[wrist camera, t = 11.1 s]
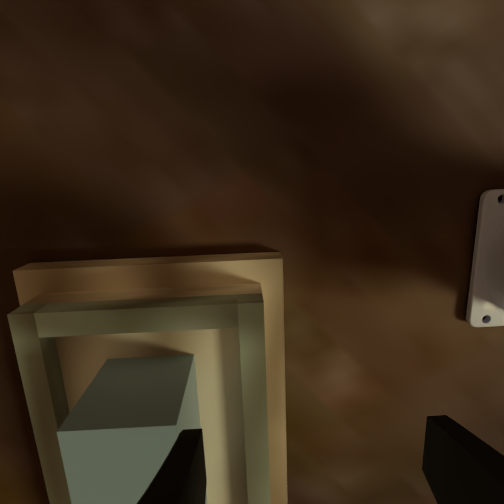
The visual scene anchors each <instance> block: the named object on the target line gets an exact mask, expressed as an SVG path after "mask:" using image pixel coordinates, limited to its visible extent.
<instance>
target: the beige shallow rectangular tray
mask: <svg viewBox="0 0 504 504" xmlns="http://www.w3.org/2000/svg"><path fill="white" fill-rule="evenodd" d="M13 276H14V280H15V285H16V290H17V294H18V299H19V303H20V307H18V308H17V309H15V310H14V311H12V312H11V313H9V314H7V317H8V321H9V326H10V330H11V335H12V339H13V343H14V348H15V352H16V357H17V361H18V365H19V370H20V374H21V379H22V383H23V388H24V392H25V396H26V401H27V405H28V410H29V414H30V418H31V423H32V427H33V432H34V436H35V441H36V445H37V449H38V454H39V458H40V463H41V467H42V472H43V476H44V480H45V485H46V489H47V494H48V498H49V502H50V504H72V503H71V498H70V494H69V489H68V484H67V479H66V474H65V470H64V465H63V460H62V455H61V450H60V446H59V441H58V436H57V431H58V429H59V428H60V426H61V425H62V423H63V422H64V421H65V419H66V418H67V416H68V415H69V413H70V412H71V410H72V409H73V408H74V406H75V405H76V403H77V402H78V400H79V399H80V398H81V396H82V395H83V393H84V392H85V390H86V389H87V387H88V386H89V385H90V383H91V382H92V380H93V379H94V377H95V376H96V375H97V373H98V372H99V370H100V369H101V367H102V366H103V365H104V363H105V362H106V360H107V359H114V358H134V357H153V356H173V355H192V354H194V358H195V369H196V380H197V391H198V402H199V414H200V425H201V429H202V432H203V443H204V455H205V466H206V478H207V486H206V492H207V503H208V504H287V458H286V405H285V352H284V300H283V258H282V256H281V253H280V252H261V253H239V254H216V255H194V256H172V257H150V258H128V259H106V260H84V261H62V262H40V263H28V264H26V265H24V266H22V267H20V268H18V269H15V270H13Z"/></svg>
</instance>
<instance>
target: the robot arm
mask: <svg viewBox="0 0 504 504" xmlns="http://www.w3.org/2000/svg"><path fill="white" fill-rule="evenodd" d="M500 195H502V200H501V201H500V202H498V197H499V196H500ZM484 316H486V318H485V319H484V320H482V318H483V317H484ZM466 321H467V323H469V324H470V325H471V326H473V327H490V326H504V189H494V190H487V191H485V192H484V193H483V194H482V195H481V197H480V203H479V211H478V220H477V228H476V237H475V245H474V254H473V262H472V271H471V279H470V288H469V296H468V305H467V313H466ZM422 470H423V472H424V474H425V477H426V479H427V481H428V484H429V486H430V488H431V490H432V492H433V495H434V497H435V499H436V501H437V503H438V504H504V456H503V455H502V454H501V453H499V452H498V451H496V450H495V449H493V448H492V447H491V446H489V445H488V444H486V443H485V442H484V441H482V440H481V439H479V438H478V437H477V436H475V435H474V434H472V433H471V432H470V431H468V430H467V429H465V428H464V427H463V426H461V425H460V424H458V423H457V422H455V421H454V420H452V419H451V418H449V417H448V416H446V415H442V416H427V423H426V433H425V444H424V454H423V465H422ZM206 486H207V478H206V466H205V455H204V443H203V432H202V429H183V430H182V431H181V432H180V433H179V435H178V437H177V439H176V441H175V443H174V445H173V447H172V448H171V450H170V452H169V454H168V456H167V457H166V459H165V461H164V462H163V464H162V466H161V467H160V469H159V471H158V472H157V474H156V475H155V477H154V478H153V480H152V482H151V483H150V485H149V486H148V488H147V489H146V491H145V492H144V494H143V495H142V497H141V498H140V500H139V501H138V502H137V504H205V500H206Z"/></svg>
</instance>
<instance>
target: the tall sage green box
mask: <svg viewBox="0 0 504 504" xmlns="http://www.w3.org/2000/svg"><path fill="white" fill-rule="evenodd" d="M183 429H201V425H200V414H199V402H198V391H197V380H196V369H195V358H194V354H192V355H173V356H153V357H134V358H114V359H107V360H106V362H105V363H104V365H103V366H102V367H101V369H100V370H99V372H98V373H97V375H96V376H95V377H94V379H93V380H92V382H91V383H90V385H89V386H88V387H87V389H86V390H85V392H84V393H83V395H82V396H81V398H80V399H79V400H78V402H77V403H76V405H75V406H74V408H73V409H72V410H71V412H70V413H69V415H68V416H67V418H66V419H65V421H64V422H63V423H62V425H61V426H60V428H59V429H58V431H57V436H58V441H59V446H60V450H61V455H62V460H63V465H64V470H65V474H66V479H67V484H68V489H69V494H70V498H71V503H72V504H137V502H138V501H139V500H140V498H141V497H142V495H143V494H144V492H145V491H146V489H147V488H148V486H149V485H150V483H151V482H152V480H153V478H154V477H155V475H156V474H157V472H158V471H159V469H160V467H161V466H162V464H163V462H164V461H165V459H166V457H167V456H168V454H169V452H170V450H171V448H172V447H173V445H174V443H175V441H176V439H177V437H178V435H179V433H180V432H181V431H182V430H183ZM205 504H208V503H207V492H206V500H205Z"/></svg>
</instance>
